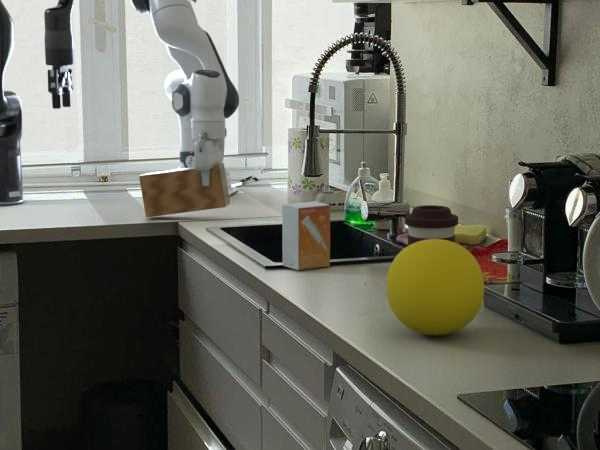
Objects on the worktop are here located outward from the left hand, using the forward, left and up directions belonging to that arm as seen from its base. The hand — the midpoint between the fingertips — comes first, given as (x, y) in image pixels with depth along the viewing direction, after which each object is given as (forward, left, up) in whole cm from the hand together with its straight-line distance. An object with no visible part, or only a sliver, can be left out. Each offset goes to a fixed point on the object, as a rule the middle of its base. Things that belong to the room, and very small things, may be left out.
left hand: (62, 107), depth 285 cm
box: (+29, +21, -27) cm, 45 cm away
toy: (+152, -14, -30) cm, 155 cm away
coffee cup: (+128, +10, -30) cm, 132 cm away
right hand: (+33, +25, -20) cm, 46 cm away
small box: (+99, +4, -30) cm, 103 cm away
